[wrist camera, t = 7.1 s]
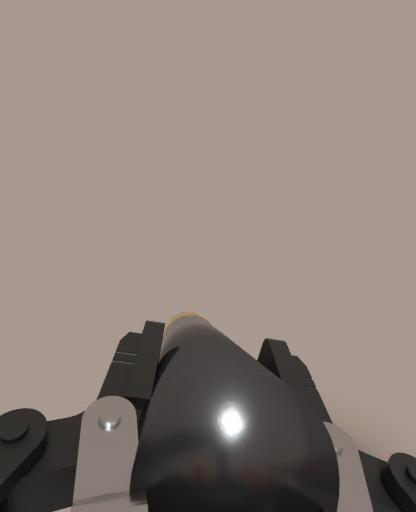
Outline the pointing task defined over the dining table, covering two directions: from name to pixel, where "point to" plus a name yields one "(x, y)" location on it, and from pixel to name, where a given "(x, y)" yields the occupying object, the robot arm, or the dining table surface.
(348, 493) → the robot arm
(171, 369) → the black gold-banded rod
